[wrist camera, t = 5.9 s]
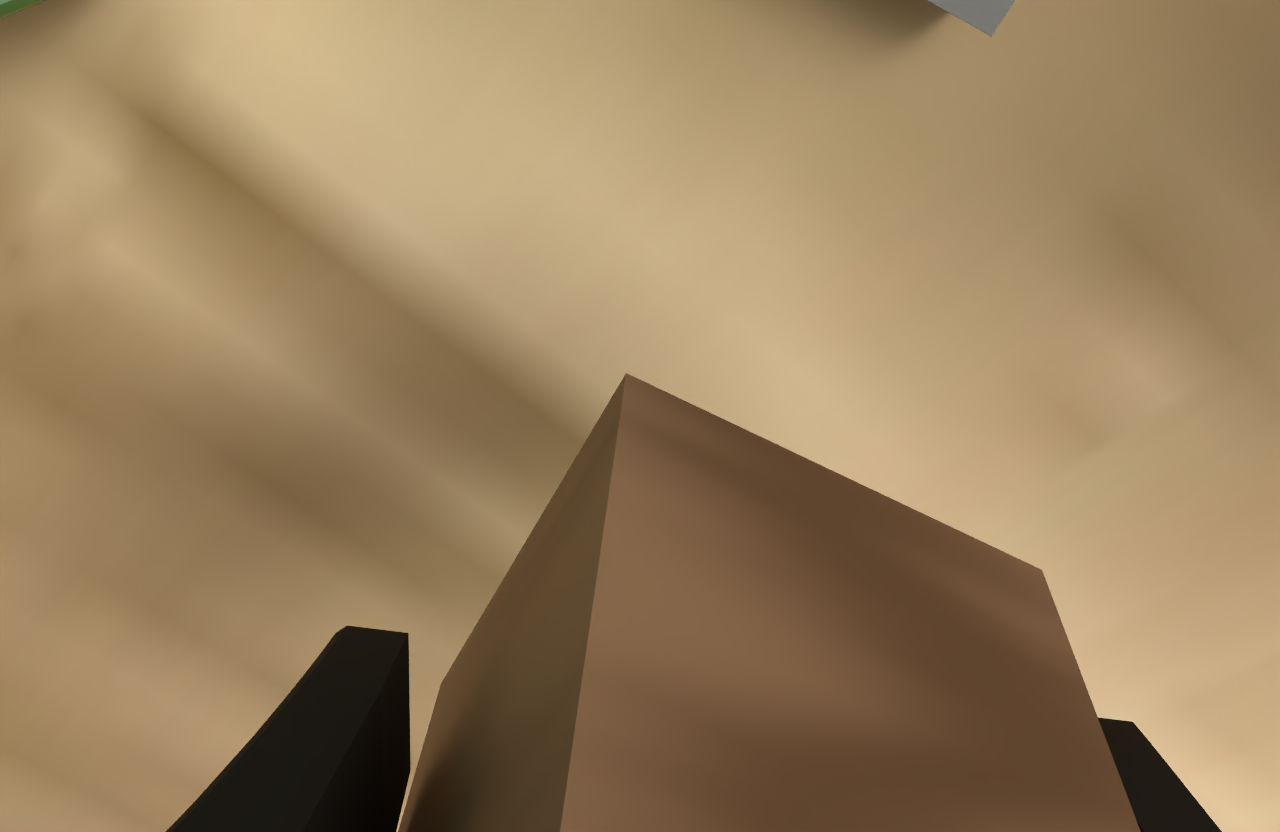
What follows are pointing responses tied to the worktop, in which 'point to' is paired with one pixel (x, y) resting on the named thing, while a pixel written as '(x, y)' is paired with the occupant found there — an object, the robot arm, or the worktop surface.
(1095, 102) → the worktop surface
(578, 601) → the walnut block
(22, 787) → the worktop surface
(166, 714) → the worktop surface
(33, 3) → the milk carton
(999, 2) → the coaster block
